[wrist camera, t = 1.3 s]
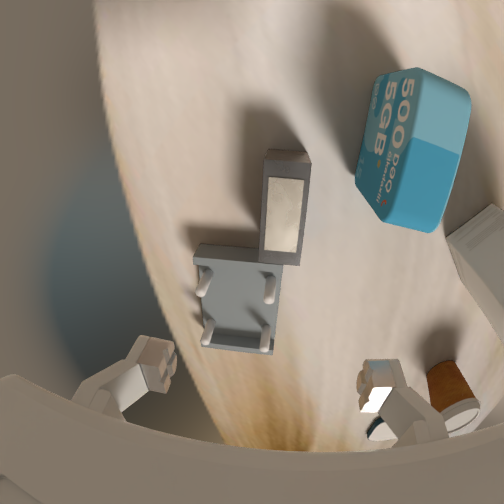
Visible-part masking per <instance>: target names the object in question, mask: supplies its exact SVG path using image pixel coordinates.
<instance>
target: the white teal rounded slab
mask: <svg viewBox="0 0 504 504" xmlns="http://www.w3.org/2000/svg"><path fill="white" fill-rule="evenodd" d="M367 438H368V440H370V441H383V440H391V439H398V438H397V437H396V435H395V434H394V433H393V432H392V430H391V429H390V428H389V427H388V425H387V424H386V423H385V421H384V420H383V419H382V418H379V419H377V420H376V421H375V422H374V424H373V425H372V427H371V428H370V430H369V431H368V433H367Z"/></svg>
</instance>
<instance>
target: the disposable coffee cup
mask: <svg viewBox="0 0 504 504" xmlns="http://www.w3.org/2000/svg"><path fill="white" fill-rule="evenodd" d="M427 382H428V389H429V395H430V402H431V406H432V407H433V408H434V409H435V410H437V411H438V412H439V413H440V414H441V415H442V416H443V418H444V422H445V425H446V428H447V432H448V434H451V433H454V432H456V431H458V430H460V429H462V428H464V427H466V426H467V425H469V424H470V423H471V422H473V421H474V420H475V419H476V418H477V417H478V416H479V414H480V406H481V403H480V401H479V400H477V398H475V396H474V394H473V392H472V390H471V389H470V387H469V385H468V383H467V382H466V380H465V378H464V377H463V375H462V373H461V372H460V370H459V368H458V367H457V365H456V363H455V362H454V361H444V362H442V363H439V364H438V365H436V366H435V367H433V368H432V369H431V370H430V371H429V373H428V374H427Z"/></svg>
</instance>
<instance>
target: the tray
mask: <svg viewBox="0 0 504 504" xmlns="http://www.w3.org/2000/svg"><path fill="white" fill-rule="evenodd" d="M258 260H259V249H256V248H244V247H233V246H221V245H209V244H200V245H199V247H198V249H197V251H196V252H195V254H194V256H193V265H199V276H200V281H199V283H198V286H197V288H196V290H195V293H196V295H197V296H199V297H201V301H202V313H203V324H204V331H203V334H202V337H201V340H200V342H201V346H202V347H208V348H215V349H222V350H230V351H238V352H247V353H256V354H266V355H273V348H274V337H275V329H276V321H277V313H278V304H279V296H280V287H281V278H282V273H283V264H273V263H262V262H258Z"/></svg>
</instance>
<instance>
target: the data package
mask: <svg viewBox="0 0 504 504" xmlns="http://www.w3.org/2000/svg"><path fill="white" fill-rule="evenodd" d="M470 113H471V98H470V95H469V93H468V92H467V91H466V90H465V89H463V88H462V87H460V86H458V85H456V84H454V83H452V82H450V81H448V80H445V79H443V78H441V77H439V76H437V75H435V74H432V73H430V72H428V71H426V70H423V69H421V68H418V67H417V68H411V69H406V70H402V71H397V72H393V73H388V74H384V75H380V76H378V77H377V79H376V81H375V83H374V86H373V91H372V96H371V102H370V107H369V112H368V117H367V122H366V127H365V132H364V137H363V141H362V146H361V150H360V155H359V159H358V163H357V168H356V172H355V184H356V187H357V188H358V189H359V191H360V192H361V193H362V195H363V196H364V198H365V199H366V200H367V202H368V203H369V204H370V206H371V207H372V209H373V210H374V212H375V213H376V214H377V216H378V217H379V219H380V220H381V221H382V222H385V223H389V224H393V225H397V226H402V227H406V228H410V229H414V230H418V231H422V232H425V233H431V232H433V231H435V230H436V229H437V227H438V226H439V224H440V222H441V220H442V217H443V214H444V211H445V208H446V205H447V202H448V199H449V196H450V193H451V190H452V187H453V183H454V180H455V177H456V173H457V169H458V166H459V162H460V158H461V154H462V150H463V146H464V142H465V138H466V133H467V128H468V123H469V118H470Z"/></svg>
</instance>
